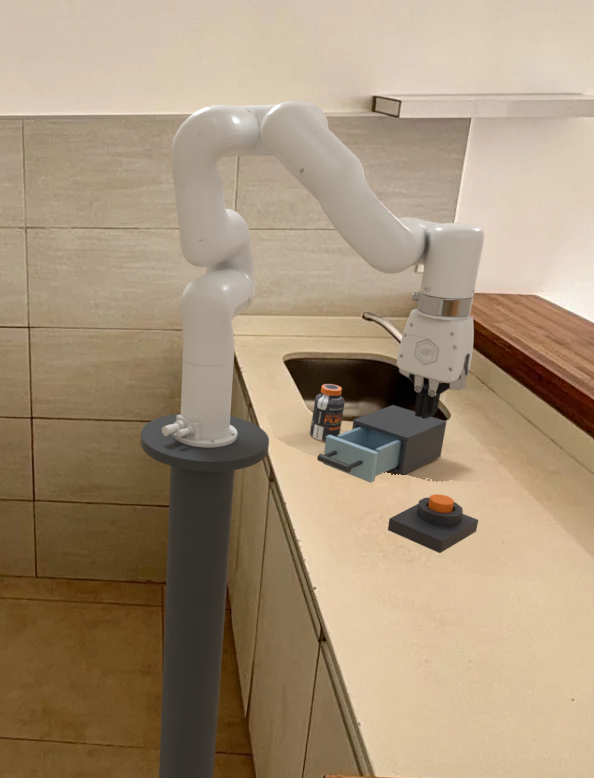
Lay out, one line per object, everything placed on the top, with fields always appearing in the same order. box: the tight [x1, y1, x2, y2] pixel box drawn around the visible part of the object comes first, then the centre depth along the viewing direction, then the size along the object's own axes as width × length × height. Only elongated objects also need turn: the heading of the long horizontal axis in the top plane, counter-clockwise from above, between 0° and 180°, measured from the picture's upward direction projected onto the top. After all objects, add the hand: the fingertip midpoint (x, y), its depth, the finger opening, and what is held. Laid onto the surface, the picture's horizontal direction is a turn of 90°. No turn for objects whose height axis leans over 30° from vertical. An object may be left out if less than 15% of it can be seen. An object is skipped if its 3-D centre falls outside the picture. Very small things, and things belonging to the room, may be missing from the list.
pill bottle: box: [309, 383, 346, 442], centre depth 160 cm, size 6×6×11 cm
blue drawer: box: [316, 426, 403, 484], centre depth 144 cm, size 17×10×6 cm, turn 127°
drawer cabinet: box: [351, 404, 448, 476], centre depth 151 cm, size 14×12×8 cm
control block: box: [387, 496, 479, 554], centre depth 124 cm, size 11×9×4 cm
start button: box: [428, 493, 455, 513], centre depth 124 cm, size 4×4×2 cm
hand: (424, 415), depth 125 cm, fingers closed
